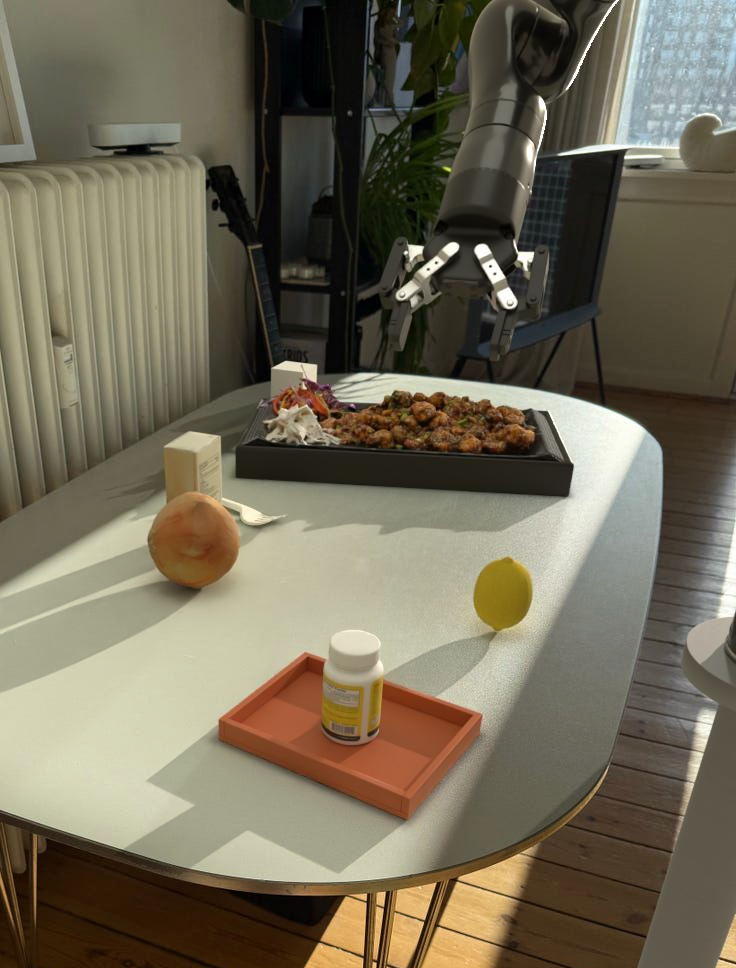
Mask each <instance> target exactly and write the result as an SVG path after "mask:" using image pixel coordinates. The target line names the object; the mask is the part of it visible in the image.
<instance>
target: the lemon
mask: <svg viewBox="0 0 736 968" xmlns="http://www.w3.org/2000/svg"><path fill="white" fill-rule="evenodd" d="M533 586H534V585H533V581H532V577H531V573H530V572H529V570H528V569H527V567H526V566H525V565H523V563H521V562H520V561H518V560H516V559H514V558H513V557H512V556H509V555H506V556H503V558H497V559H495V560H492V561H490V562H489V563H487V564H486V565H485V566H484V567H483V568H482V569H481V570H480V572H479V574H478V576H477V578H476V582H475V585H474V588H473V595H472V596H473V598H472V600H473V608H474V610H475V613H476V616H477V617H478V618H479V620H480V621H481V622H483V624H485V625H487V626H489V627H490V628H492V629H493V630H494V631H495V632H501V631H503V630H504V629H509V628H512V627H514V626H516V625H518V624H520V622H522V621H523V620H524V619H525V618H526V616H527V615H528V613H529V610H530V608H531V606H532V601H533V595H534V588H533Z"/></svg>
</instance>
